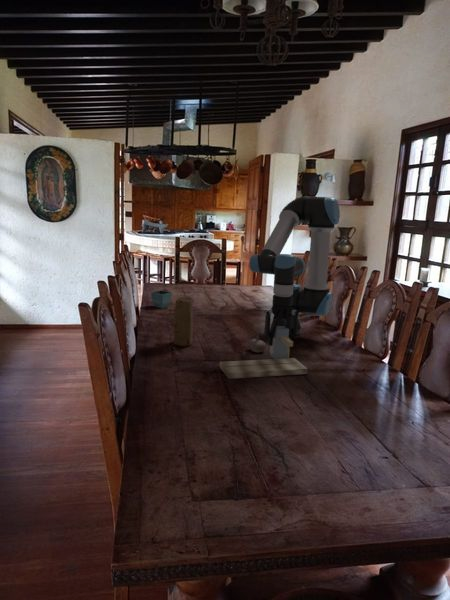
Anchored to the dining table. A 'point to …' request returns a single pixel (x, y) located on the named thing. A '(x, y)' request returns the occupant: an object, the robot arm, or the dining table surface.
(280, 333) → the hammer
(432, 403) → the dining table surface
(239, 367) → the board
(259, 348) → the garlic bulb
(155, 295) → the flower pot
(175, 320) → the stone
